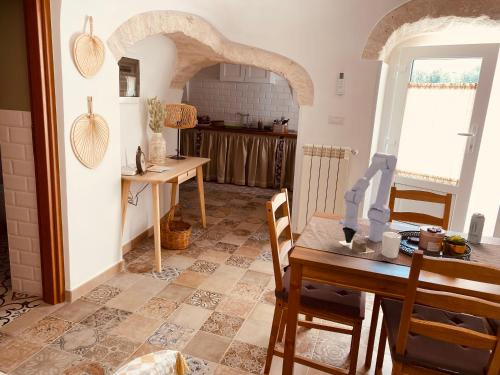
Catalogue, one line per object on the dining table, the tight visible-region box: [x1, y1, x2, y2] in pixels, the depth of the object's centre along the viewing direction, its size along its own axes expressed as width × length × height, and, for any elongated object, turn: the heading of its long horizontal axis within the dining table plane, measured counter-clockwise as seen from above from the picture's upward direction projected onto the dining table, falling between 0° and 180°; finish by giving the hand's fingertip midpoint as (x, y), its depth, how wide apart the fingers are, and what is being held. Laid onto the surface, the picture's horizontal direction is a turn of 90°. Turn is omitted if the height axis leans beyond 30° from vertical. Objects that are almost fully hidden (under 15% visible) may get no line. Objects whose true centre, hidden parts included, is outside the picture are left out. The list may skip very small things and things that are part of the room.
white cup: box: [381, 231, 402, 259], centre depth 172 cm, size 8×8×10 cm
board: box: [338, 239, 376, 255], centre depth 181 cm, size 9×16×1 cm, turn 24°
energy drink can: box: [467, 212, 486, 245], centre depth 195 cm, size 6×6×15 cm
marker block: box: [351, 238, 368, 254], centre depth 176 cm, size 4×4×4 cm
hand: (348, 242), depth 183 cm, fingers closed
